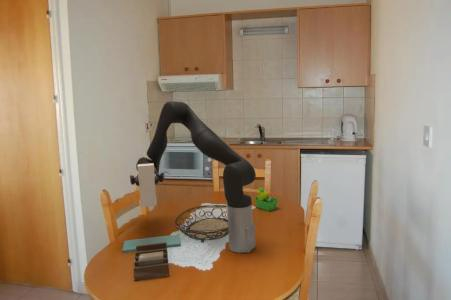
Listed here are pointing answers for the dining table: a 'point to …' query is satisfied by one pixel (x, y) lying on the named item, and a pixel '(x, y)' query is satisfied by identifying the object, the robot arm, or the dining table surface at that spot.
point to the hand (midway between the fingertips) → (147, 182)
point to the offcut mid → (151, 255)
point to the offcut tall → (150, 261)
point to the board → (151, 242)
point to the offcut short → (151, 253)
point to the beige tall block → (147, 185)
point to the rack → (151, 270)
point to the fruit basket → (265, 200)
